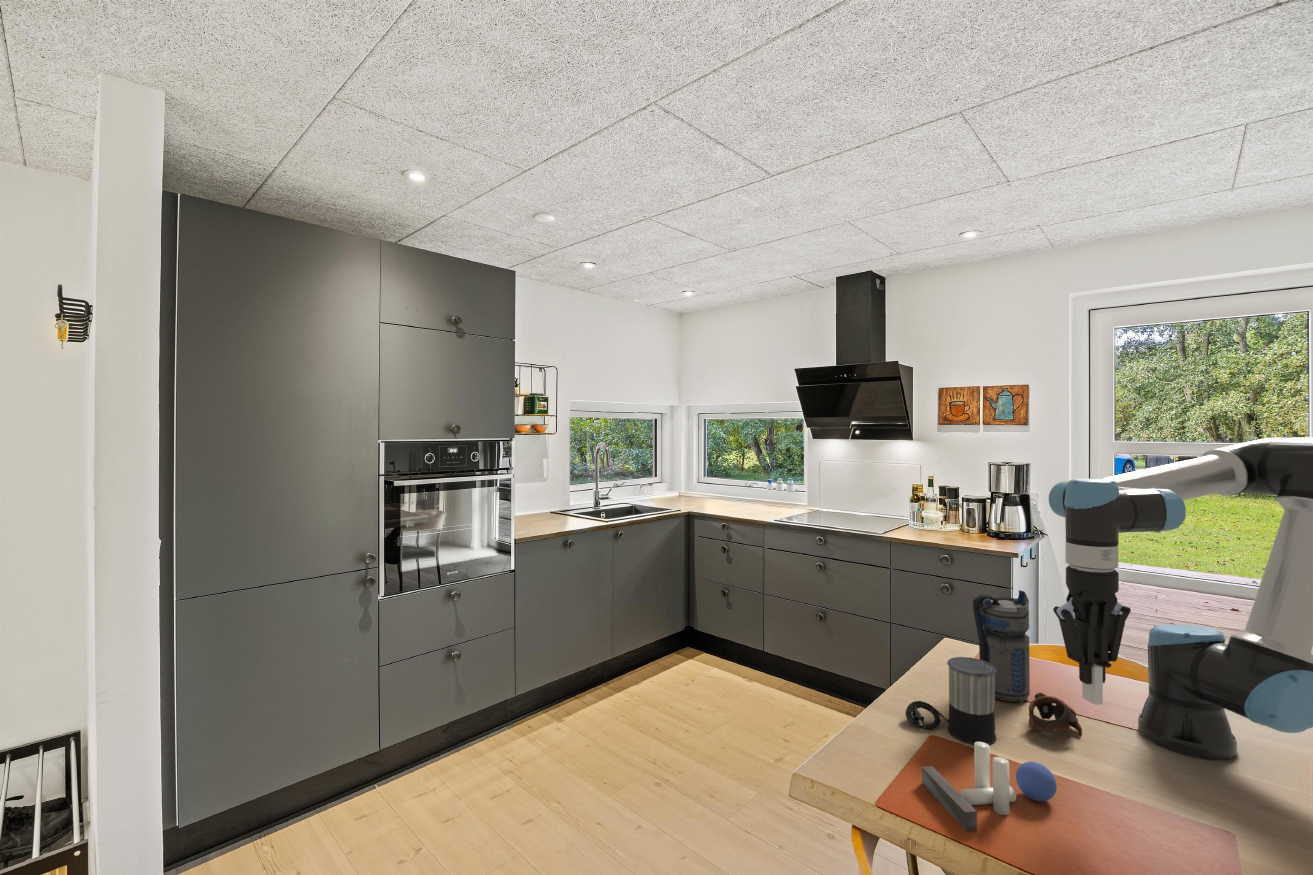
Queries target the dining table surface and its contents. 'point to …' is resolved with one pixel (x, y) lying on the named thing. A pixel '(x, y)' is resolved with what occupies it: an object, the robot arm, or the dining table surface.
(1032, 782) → the ball
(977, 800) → the front pin
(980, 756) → the pin
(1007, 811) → the pin
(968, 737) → the milk frother
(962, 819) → the back wall
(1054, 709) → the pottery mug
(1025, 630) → the beverage bottle
